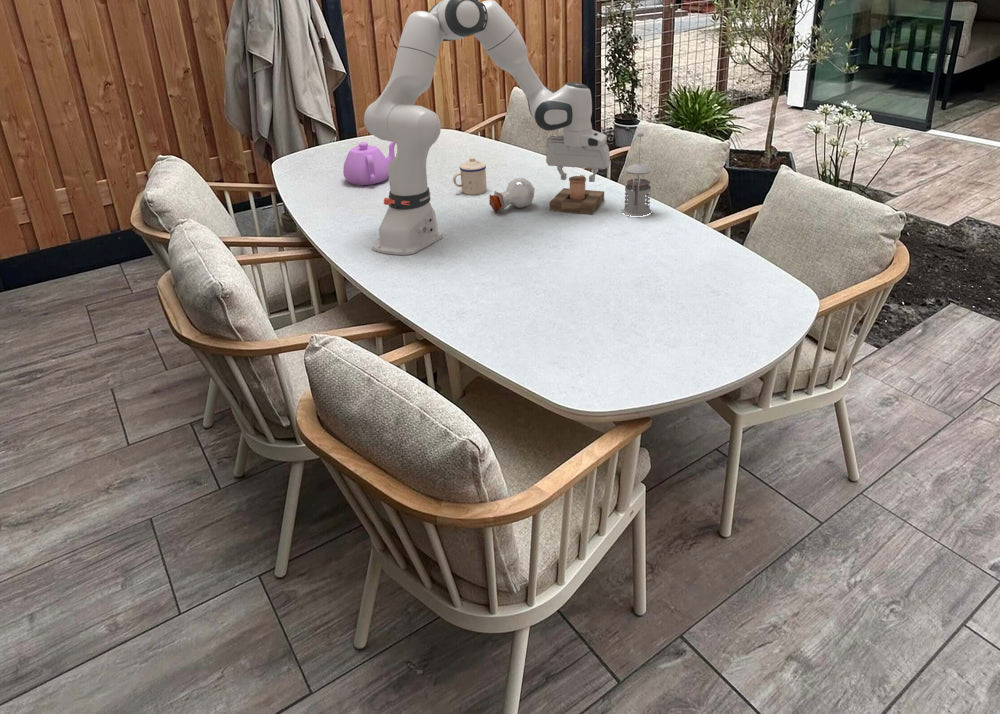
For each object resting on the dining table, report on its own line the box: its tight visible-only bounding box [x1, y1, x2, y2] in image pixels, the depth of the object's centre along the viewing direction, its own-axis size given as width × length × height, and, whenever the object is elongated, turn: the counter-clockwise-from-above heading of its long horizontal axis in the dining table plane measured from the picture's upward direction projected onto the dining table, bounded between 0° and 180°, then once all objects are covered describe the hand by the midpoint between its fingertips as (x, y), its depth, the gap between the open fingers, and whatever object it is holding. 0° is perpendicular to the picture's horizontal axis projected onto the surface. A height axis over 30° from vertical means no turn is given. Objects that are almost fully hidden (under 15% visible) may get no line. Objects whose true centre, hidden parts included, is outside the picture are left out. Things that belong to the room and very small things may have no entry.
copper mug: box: [568, 174, 587, 200], centre depth 247 cm, size 8×5×9 cm, turn 158°
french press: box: [621, 131, 653, 216], centre depth 234 cm, size 10×12×25 cm
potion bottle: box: [489, 177, 535, 214], centre depth 247 cm, size 9×10×15 cm
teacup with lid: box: [452, 156, 487, 196], centre depth 263 cm, size 12×9×12 cm
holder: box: [549, 187, 605, 216], centre depth 248 cm, size 14×14×3 cm
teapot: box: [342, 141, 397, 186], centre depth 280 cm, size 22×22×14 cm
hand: (577, 180), depth 245 cm, fingers open, 8 cm apart
